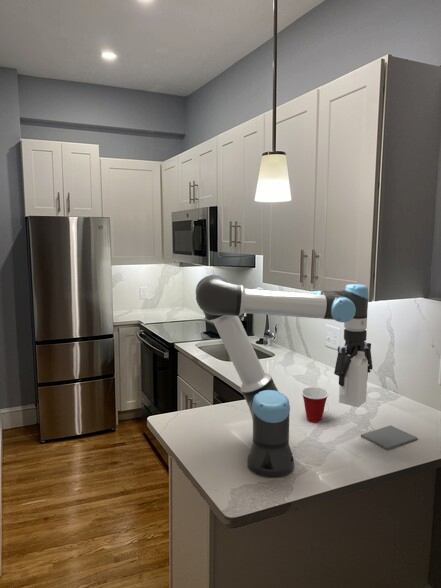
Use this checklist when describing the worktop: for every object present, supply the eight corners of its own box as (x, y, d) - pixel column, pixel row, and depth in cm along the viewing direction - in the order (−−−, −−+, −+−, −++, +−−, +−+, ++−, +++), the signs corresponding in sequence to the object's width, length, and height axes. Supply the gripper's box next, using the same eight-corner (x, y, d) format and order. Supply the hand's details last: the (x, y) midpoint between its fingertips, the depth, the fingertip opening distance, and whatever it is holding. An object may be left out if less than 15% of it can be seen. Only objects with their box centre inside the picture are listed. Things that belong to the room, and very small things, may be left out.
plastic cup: (299, 424, 176) (300, 395, 175) (301, 413, 187) (301, 385, 185) (328, 426, 174) (329, 397, 172) (327, 415, 184) (328, 387, 183)
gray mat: (387, 450, 155) (387, 448, 155) (360, 436, 165) (360, 434, 165) (417, 439, 163) (417, 437, 163) (390, 427, 173) (390, 425, 173)
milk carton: (347, 397, 163) (349, 346, 160) (366, 401, 159) (368, 349, 156) (338, 402, 158) (340, 350, 155) (358, 407, 153) (360, 354, 151)
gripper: (340, 334, 146) (337, 401, 149) (385, 327, 156) (382, 389, 160) (324, 330, 152) (322, 393, 156) (368, 323, 163) (366, 383, 166)
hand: (352, 391), depth 158 cm, fingers closed on milk carton, 9 cm apart
